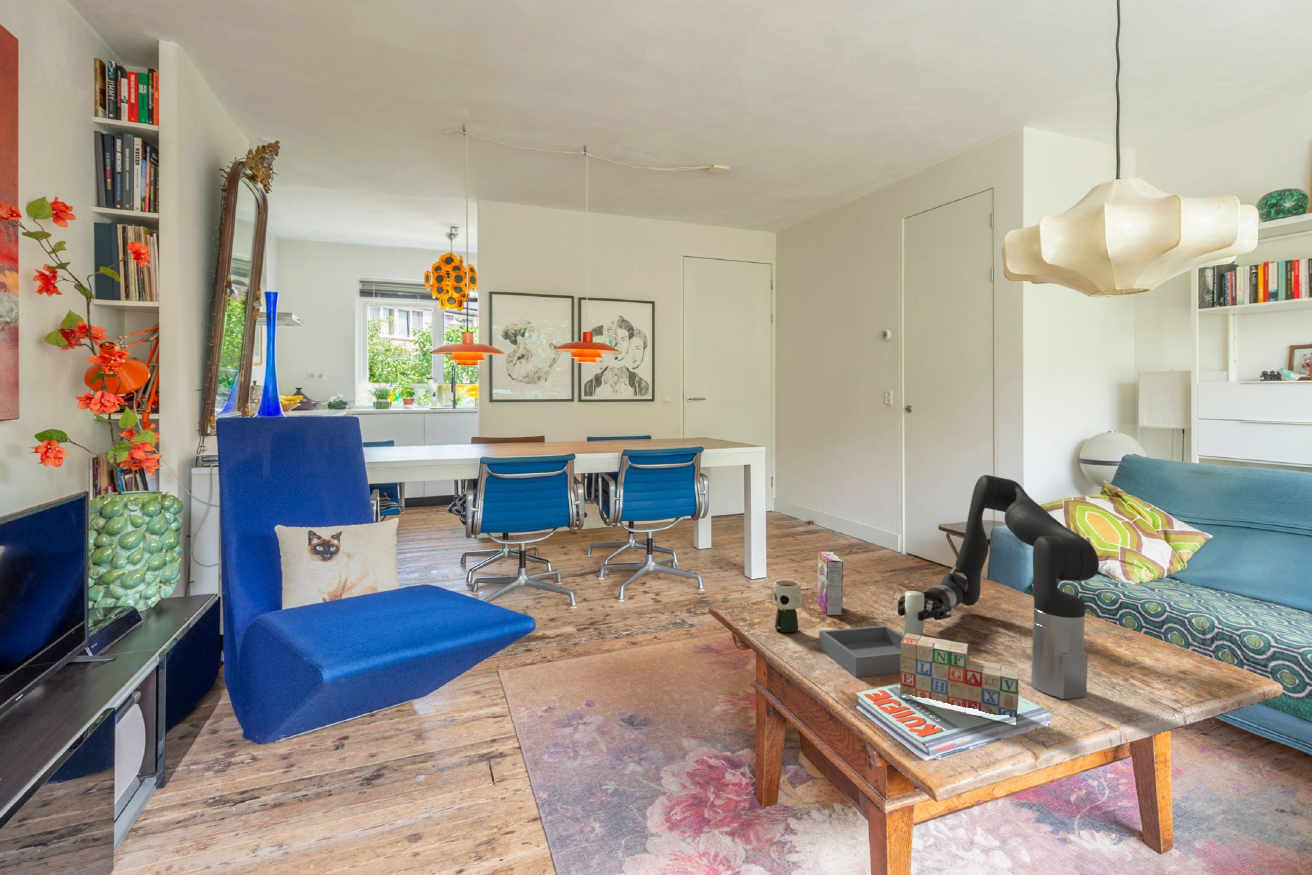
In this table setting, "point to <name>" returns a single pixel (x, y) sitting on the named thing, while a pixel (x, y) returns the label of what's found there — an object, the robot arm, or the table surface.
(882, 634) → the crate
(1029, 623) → the table surface
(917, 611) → the canister
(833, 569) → the candy bar box
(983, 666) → the stack of blocks
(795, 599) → the character mug
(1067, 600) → the robot arm
